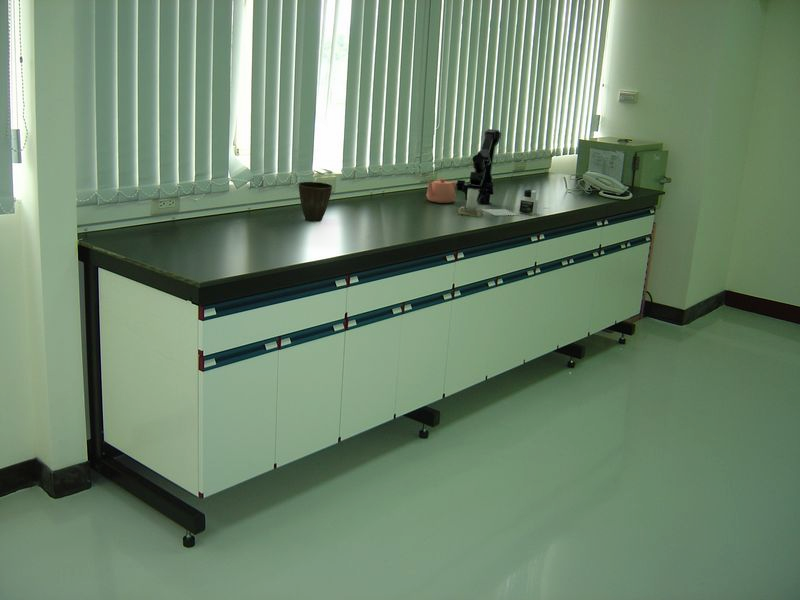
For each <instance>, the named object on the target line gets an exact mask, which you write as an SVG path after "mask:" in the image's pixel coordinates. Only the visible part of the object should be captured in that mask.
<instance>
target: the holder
mask: <svg viewBox="0 0 800 600" xmlns="http://www.w3.org/2000/svg"><path fill="white" fill-rule="evenodd" d="M483 212H484V211H483V208H480V209H479V210H477V211H473V210H466V208H465V206H461V207H459V208H458V209H457V215H461V214H463V216H471V217H477V216H478V217H481V216H482V215H483V214H484V213H483Z"/></svg>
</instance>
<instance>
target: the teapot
mask: <svg viewBox="0 0 800 600" xmlns="http://www.w3.org/2000/svg"><path fill="white" fill-rule="evenodd" d="M426 182H427V191H426V198H427V199H428V200H429V201H430V202H433V203H438V204H448V203H449V204H450V203H453V202H454V201H455V200H456V191H455V189H456V188H457V185H456V183H457V181H451V182H450V181H446V178H444V177H443V178H442V177H441V178H440V177H439V180H434V181H430V180H426Z"/></svg>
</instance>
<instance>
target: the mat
mask: <svg viewBox="0 0 800 600" xmlns="http://www.w3.org/2000/svg"><path fill="white" fill-rule="evenodd" d="M482 209H483V208H482ZM484 211H485V213H486V212H487V214H489V215H491V214H492V215H491V216H493V215H494V217H514V216H515V217H516V216H517V217H519V214H517V213H515V212H512V211H510V210H508V209H504V208H502V209H501V208H499V209H497V208H496V209H495V208H493V209H490V208H489V209H488V208H487V209H486V208H485V209H483V212H484ZM508 215H509V216H508ZM510 215H511V216H510ZM513 215H514V216H513Z"/></svg>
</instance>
